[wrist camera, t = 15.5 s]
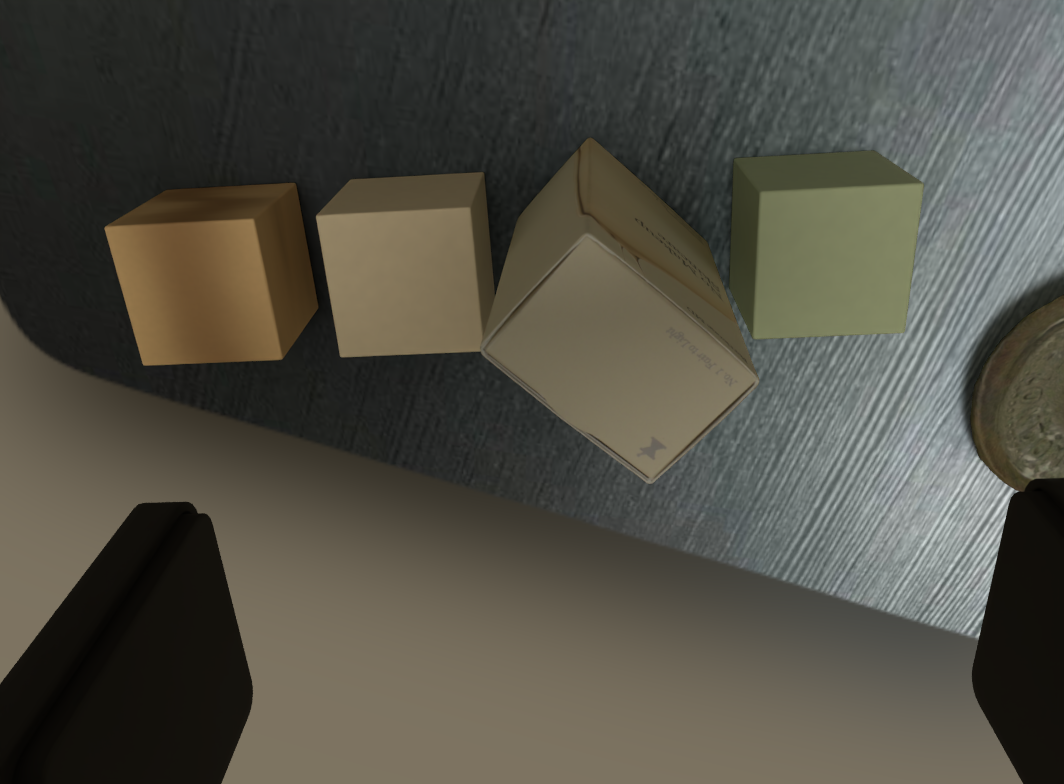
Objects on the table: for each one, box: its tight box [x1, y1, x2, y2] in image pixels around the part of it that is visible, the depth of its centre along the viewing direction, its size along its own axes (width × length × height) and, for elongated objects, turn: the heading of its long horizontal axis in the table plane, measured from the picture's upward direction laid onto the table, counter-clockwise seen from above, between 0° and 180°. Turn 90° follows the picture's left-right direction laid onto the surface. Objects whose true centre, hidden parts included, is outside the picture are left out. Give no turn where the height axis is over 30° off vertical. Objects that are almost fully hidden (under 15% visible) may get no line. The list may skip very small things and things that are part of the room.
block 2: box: [316, 172, 495, 357], centre depth 32 cm, size 5×5×5 cm
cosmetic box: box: [480, 138, 759, 484], centre depth 28 cm, size 6×4×12 cm
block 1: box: [105, 183, 318, 366], centre depth 32 cm, size 5×5×5 cm
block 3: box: [729, 150, 924, 339], centre depth 31 cm, size 5×5×5 cm
